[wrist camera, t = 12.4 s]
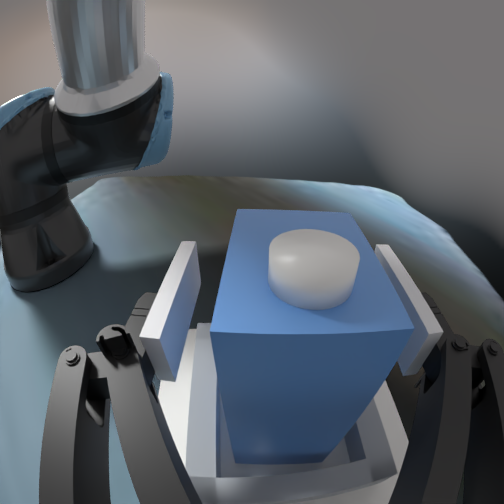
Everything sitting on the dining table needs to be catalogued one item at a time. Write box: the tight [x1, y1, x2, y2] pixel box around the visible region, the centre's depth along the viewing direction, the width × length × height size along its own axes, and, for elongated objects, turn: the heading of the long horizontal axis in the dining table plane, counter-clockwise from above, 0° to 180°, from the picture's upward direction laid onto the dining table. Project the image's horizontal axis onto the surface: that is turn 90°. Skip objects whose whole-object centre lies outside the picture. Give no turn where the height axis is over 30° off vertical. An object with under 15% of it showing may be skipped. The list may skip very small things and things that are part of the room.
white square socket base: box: [158, 323, 409, 504], centre depth 15 cm, size 16×16×4 cm
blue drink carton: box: [210, 209, 415, 465], centre depth 12 cm, size 7×5×13 cm
